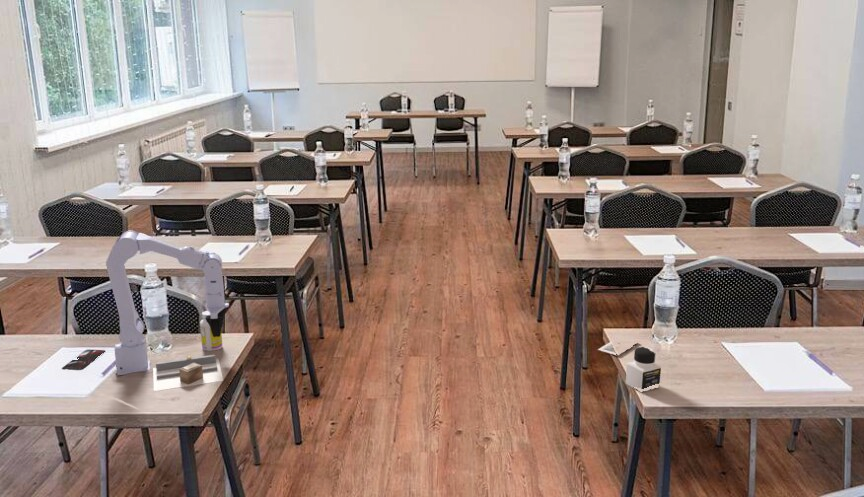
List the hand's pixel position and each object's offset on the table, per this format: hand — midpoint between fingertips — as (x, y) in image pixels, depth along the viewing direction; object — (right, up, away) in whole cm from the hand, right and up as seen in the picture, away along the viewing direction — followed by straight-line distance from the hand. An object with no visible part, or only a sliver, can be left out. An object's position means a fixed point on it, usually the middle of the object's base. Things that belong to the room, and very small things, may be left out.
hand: (217, 331), depth 241 cm
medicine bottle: (+132, -15, -16) cm, 134 cm away
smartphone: (-45, -10, +3) cm, 46 cm away
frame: (-4, -13, -12) cm, 19 cm away
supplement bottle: (-5, -7, +12) cm, 15 cm away
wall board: (-7, -13, -8) cm, 17 cm away
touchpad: (+132, -7, +12) cm, 133 cm away
